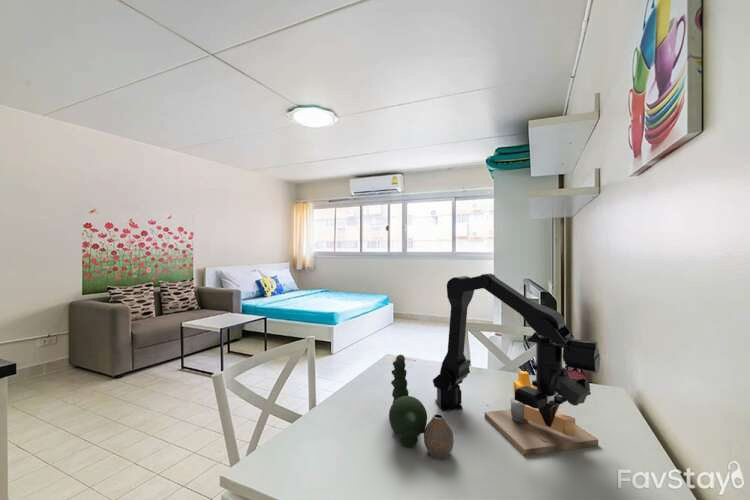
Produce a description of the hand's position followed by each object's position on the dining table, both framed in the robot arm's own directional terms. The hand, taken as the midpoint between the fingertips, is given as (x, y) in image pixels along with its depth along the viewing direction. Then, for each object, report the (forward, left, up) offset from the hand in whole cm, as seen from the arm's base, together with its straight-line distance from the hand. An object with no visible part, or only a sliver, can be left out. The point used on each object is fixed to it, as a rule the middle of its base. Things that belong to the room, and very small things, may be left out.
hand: (548, 426), depth 82 cm
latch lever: (+1, +4, -1) cm, 4 cm away
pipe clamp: (+11, +23, -5) cm, 26 cm away
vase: (-28, +2, -5) cm, 28 cm away
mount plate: (+1, +6, -4) cm, 7 cm away
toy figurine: (-33, +13, -5) cm, 36 cm away
